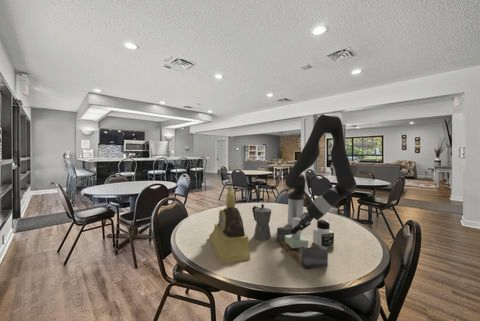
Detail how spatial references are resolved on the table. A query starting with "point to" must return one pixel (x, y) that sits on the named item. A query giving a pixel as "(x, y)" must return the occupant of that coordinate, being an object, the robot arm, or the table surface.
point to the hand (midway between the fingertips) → (292, 231)
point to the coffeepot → (262, 222)
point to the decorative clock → (230, 233)
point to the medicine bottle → (323, 234)
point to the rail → (304, 251)
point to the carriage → (296, 237)
